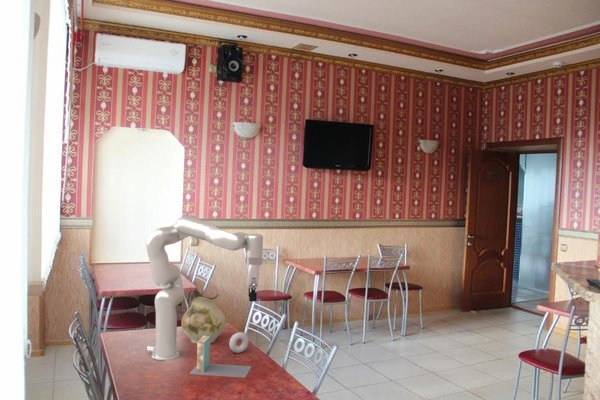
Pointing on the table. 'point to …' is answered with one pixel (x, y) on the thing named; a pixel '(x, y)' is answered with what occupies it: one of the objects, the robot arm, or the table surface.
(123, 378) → the table surface
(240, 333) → the donut
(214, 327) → the pitcher
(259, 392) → the table surface
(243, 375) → the mat
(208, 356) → the tan rectangular package
